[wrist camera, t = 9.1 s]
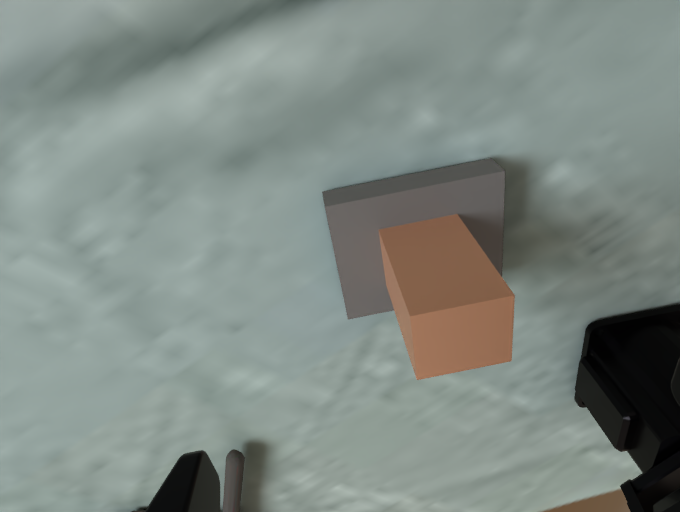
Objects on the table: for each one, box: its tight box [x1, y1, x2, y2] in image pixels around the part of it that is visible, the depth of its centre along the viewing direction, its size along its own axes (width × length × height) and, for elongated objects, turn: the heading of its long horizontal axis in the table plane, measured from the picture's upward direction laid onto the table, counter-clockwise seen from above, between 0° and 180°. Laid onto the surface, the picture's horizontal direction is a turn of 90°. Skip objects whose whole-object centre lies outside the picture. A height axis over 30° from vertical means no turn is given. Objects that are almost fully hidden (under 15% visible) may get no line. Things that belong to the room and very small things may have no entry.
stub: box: [322, 158, 515, 380], centre depth 18 cm, size 7×6×7 cm
